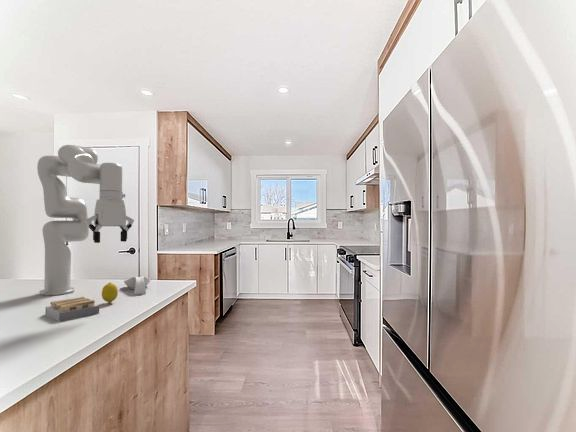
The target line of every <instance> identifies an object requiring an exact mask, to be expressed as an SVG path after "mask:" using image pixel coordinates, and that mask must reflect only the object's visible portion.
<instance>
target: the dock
mask: <svg viewBox="0 0 576 432" xmlns="http://www.w3.org/2000/svg"><path fill="white" fill-rule="evenodd" d="M44 311H45V312H44V313H45V315H46V316H47V317H49V318H51V319H54V320H56V321H57V322H64V321H69V320H74V319H78V318H82V317H86V316H87V317H88V316H93V315H97V314H100V305H98V304H95V303H94V306H92V307H86V306H83V305H82V309H77V310H76V309H73V308H70V311H67V312H62V311H59V310H57V309H55V308H52V307H51V305H50V306H45V310H44Z"/></svg>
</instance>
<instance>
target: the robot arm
mask: <svg viewBox="0 0 576 432" xmlns="http://www.w3.org/2000/svg"><path fill="white" fill-rule="evenodd" d="M98 161H99V157H98V153H97V152H96V150H94V149H93V148H91V147H85V146H82V145H81V146H79V145H75V144H65V145H62V146H61V147H59V149H58V151H57V155H44V156H41V157H40V158H39V159H38V161H37V167H36V168H37V175H38V178H39V181H40V183H41V186H42V190H43V202H44V204H43V205H44V211H45V214H46V216H47V217H49V218H52V219H53V218H54V219H72V220H50V221H47V222H46V223H44V225H43V226H42V231H41V232H42V236H43V237H42V238H43V244H44V285H43V289H42V290H40V291H39V294H40V295H41V296H59V295H65V294H71V293H73V292H74V291H75V287H72V286H71V274H72V271H71V270H72V252H71V249H70V248H69V246H68V245H67V243H69V242H70V243H71V242H74V243H75V242H83V241H86V239H88V237H89V234H90V230H91V232H92V240H93V242H94V243H95V244H99V243H101V231H100V230H101V229H102V228H103V227H119V228H120V229H121V231H120V242H124V243H125V242H127V240H128V231H129V230H130V229H131V227H132V226H133V224H134V221H135V220H134V219H133V218H131V217H129V216H128V215H127V213H126V212H127V211H126V204H125V200H123V198H126V193H123V166H122V165H121V164H119V163H116V162H103V163H99V164H98ZM59 176H60V177H68V178H70V177H71V178H73V179H74V180H75V181H77V182H79V183H83V184H84V183H85V184H93V185H99V199H96V202H95V206H94V207H95V208H94V213H93V214H94V215H92V216H90V217H88V208H87V205H86V202H85V201H84V200H83V199H82V198H79V197H69V196H68V195H67V187H66V185H65V184H64V182H63V181H62V180H61V179H60V178H59ZM92 222H93V223H92ZM127 222H128V223H127ZM126 223H127V224H126Z"/></svg>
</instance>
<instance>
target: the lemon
mask: <svg viewBox="0 0 576 432" xmlns="http://www.w3.org/2000/svg"><path fill="white" fill-rule="evenodd" d="M118 292H119V290H118V287H117V285H116V284H115V283H113V282H108V283H107V284H105V285H104V286H103V287H102V290H101V298H102V299H103V300H104V301H105V302H107V303H108V304H111V303H112V302H113V301H115V300H116V299H117V297H118Z"/></svg>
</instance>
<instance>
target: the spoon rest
mask: <svg viewBox="0 0 576 432" xmlns="http://www.w3.org/2000/svg"><path fill="white" fill-rule="evenodd" d="M151 280H152V279H151V278H150V277H146V276H144V275H142V276H133V277H130V278H128V279H124V280H123V282H124V284H125V285H126V287H128V288H129V289H131V290H133V291H134V293H133V294H134V295H135V296H136V295H137V296H138V295H146V294H147V289H146V286H148V285H149V283H150V282H151Z"/></svg>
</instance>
